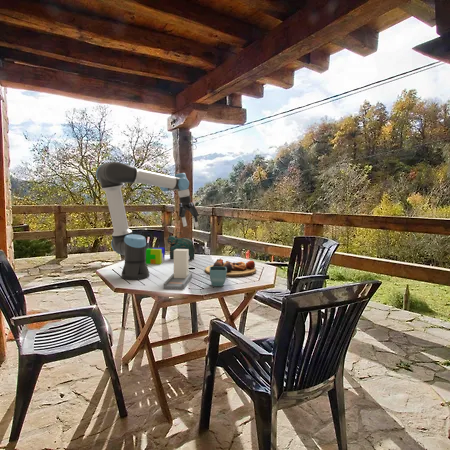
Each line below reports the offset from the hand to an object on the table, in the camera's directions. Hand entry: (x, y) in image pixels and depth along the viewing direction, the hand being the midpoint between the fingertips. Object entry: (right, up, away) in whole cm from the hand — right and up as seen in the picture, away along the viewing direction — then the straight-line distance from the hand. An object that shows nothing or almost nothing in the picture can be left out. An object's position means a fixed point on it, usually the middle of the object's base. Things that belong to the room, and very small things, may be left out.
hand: (190, 226), depth 218 cm
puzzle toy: (-25, -25, +2) cm, 35 cm away
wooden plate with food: (+27, -28, -20) cm, 44 cm away
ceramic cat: (-9, -24, +17) cm, 31 cm away
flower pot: (+20, -31, -53) cm, 64 cm away
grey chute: (-1, -30, -50) cm, 58 cm away
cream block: (-1, -28, -44) cm, 52 cm away
